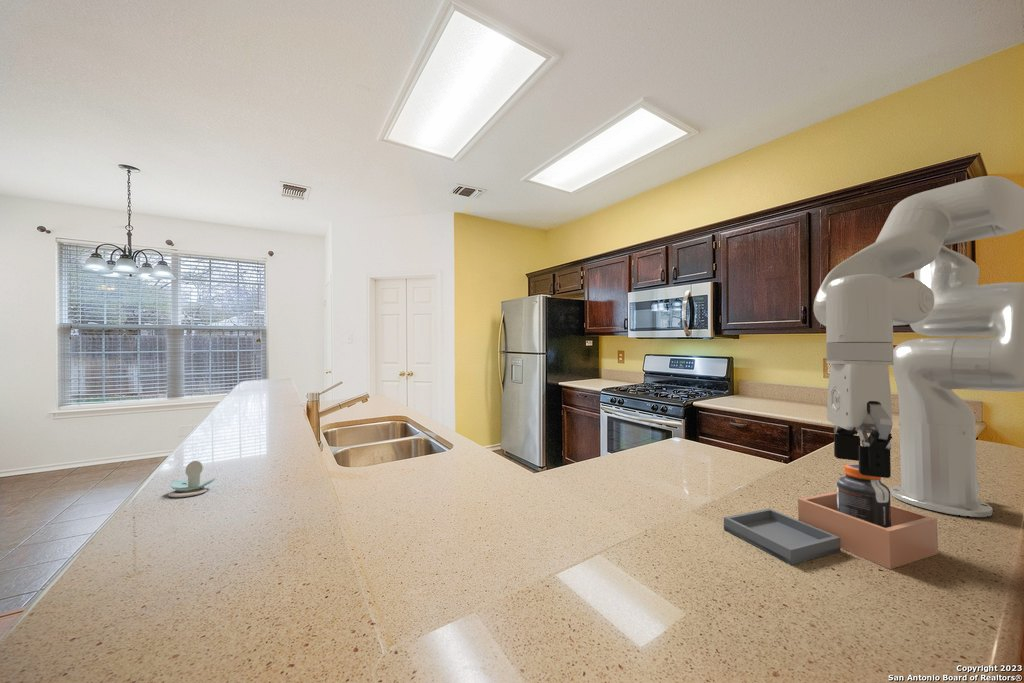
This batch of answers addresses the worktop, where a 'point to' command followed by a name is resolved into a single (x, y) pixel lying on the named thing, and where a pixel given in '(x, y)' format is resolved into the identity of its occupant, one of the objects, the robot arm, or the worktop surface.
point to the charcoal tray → (782, 535)
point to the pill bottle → (863, 497)
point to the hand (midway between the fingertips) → (859, 466)
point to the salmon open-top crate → (874, 531)
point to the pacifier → (190, 482)
